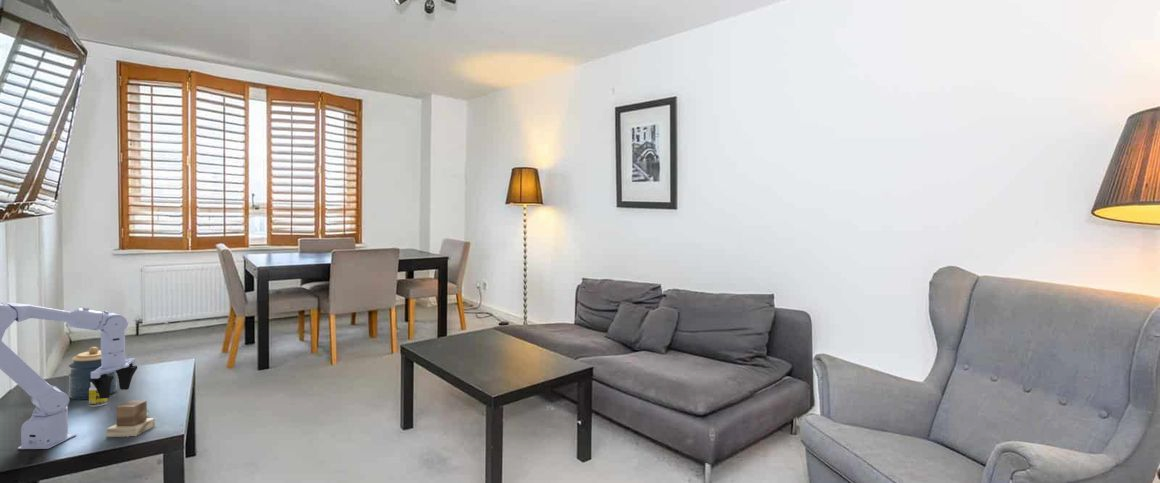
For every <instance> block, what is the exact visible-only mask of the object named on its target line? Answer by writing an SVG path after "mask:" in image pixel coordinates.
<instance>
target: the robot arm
mask: <svg viewBox="0 0 1160 483" xmlns="http://www.w3.org/2000/svg"><path fill="white" fill-rule="evenodd" d="M6 304H7V305H6ZM29 319H36V320H38V319H39V320H46V321H53V322H56V321H57V322H63V323H64V322H65V323H66V324H67V325H68V327H70V328H76V329H83V330H90V331H100V350H101V364H102V366H101V367H100V368H98V369H96V370H95V371H93V372H91V377H90V378H89V380H90V381H91V382H92V383H93V385H94V386H95V387H96V389H97V391H98V393H99V396H100V398H107V399H109V398H110V395H111V394H110V386H111V382H112V379H113V376H108V375H107V374H108V373H111V372H114V371H116V373H117V378H118V385H119V389H120V390H124V391H127V390H129V389H130V386H131V381H132V379H133V376H134V375H135V372H136V371H137V370H138V365H136V358H131V357H130V358H127V357H126V356H127V355H126V335H125V331H126V329H127V328H128V325H129V322H128V321H127V318H126V317H124V316H123V315H121V314H118V313H114V312H112V311H108V310H103V311H98V310H92V309H90V307H85V306H83V307H82V308H80V307H76V308H75V309H73V310H69V311H68V310H63V309H57V308H50V307H45V306H40V305H33V304H28V303H18V302H6V303H3V302H0V370H1V371H2V372H3V373H4V374H5V375H6V376H7V377H8V378H10V379H11V380H12V381H13V382H14V383H16V385H17V386H19V387H20V388H21V389H23V391H25V393H27V395H29V397H30V401H31V403H32V405H33V406H34V407H35V408H34V409H33V411H32V415H31V416H30V418H28V419H27V420H25V422H23V424H22V425H21V427H20V443H21V444H20V446H18V447H17V449H18V450H46V449H47V450H48V449H50V448H53V447H54V446H57V445H59V444H60V443H64V442H65V441H68V440H70V439H72V438H74V437H76V436H77V433H68V432H69V430H68V429H69V427H68V426H69V422H68V420H69V419H68V418H69V417H68V414H69V411H68V408H69V407H68V406H69V404H70V399H71V398H70V395H69V394H67V393H66V392H64V391H62V390H61V389H60V388H58V386H55V385H51V384H49V383H48V382H47V381H46V380H45V379H44V378H43V377H41V375H39V374H38V373H37V372H36V371H35V370H34V369H33V368H32V367H31V366H30V365H28V364H27V363H26V361H25V360H23V359H22V358H21V357H20V356H19V355H18V354H17V353H15V352H14V351H13V350H12V349H11V348H10V347H9V346H8V345H7V344H5V342H3V341H2V340H3V337H4V335H5V333H6V331H7V329H8V328H9V327H10V326H11V325H12V324H13V323H14V322H18V323H20V322H21V323H22V322H23V321H26V320H29Z"/></svg>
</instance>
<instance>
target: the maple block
mask: <svg viewBox="0 0 1160 483" xmlns="http://www.w3.org/2000/svg"><path fill="white" fill-rule="evenodd" d="M155 422H156V419H155V417H150V418H149V417H147V420H145V421H143V422H141V423H139V424H137V425H135V426H117V423H115V424H113V425H111V426H109V427H108V428H106V438H107V437H108V438H113V437H114V438H115V437H117V438H118V437H119V438H122V437H124V438H125V436H126V437H127V438H128V437H129V436H136V437H138V436H139V435H141V434H143V433H145V432H147V431H149V430H150V429H151V428H154V427H155V426H156V423H155ZM146 430H147V431H146ZM144 431H145V432H144ZM142 432H143V433H142ZM137 435H138V436H137Z"/></svg>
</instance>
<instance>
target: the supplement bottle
mask: <svg viewBox="0 0 1160 483" xmlns="http://www.w3.org/2000/svg"><path fill="white" fill-rule="evenodd" d="M107 404H108V398H100V396H99V393H98V391H97V389H96V387H95V386H94V385H93V383H92V382H91V387H90V388H89V399H88V406H89V407H91V408H96V407H102V406H104V405H107Z"/></svg>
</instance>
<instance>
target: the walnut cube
mask: <svg viewBox="0 0 1160 483" xmlns="http://www.w3.org/2000/svg"><path fill="white" fill-rule="evenodd" d="M147 406H148V405H147V400H129V401H126V402H124V403H122V404H119V405H118V406H115V408H116V424H117V426H135V425H137V424H139V423H141V422H143V421H145V420H147V418H148V416H147V410H148V409H147Z"/></svg>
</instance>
